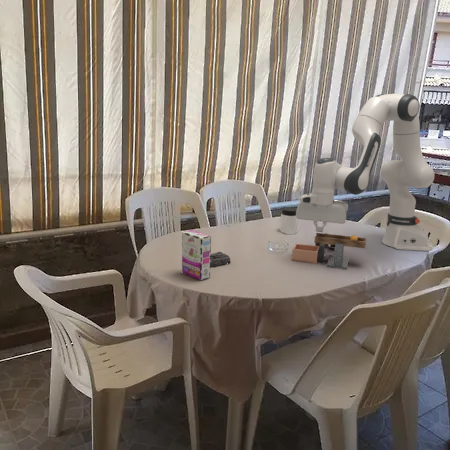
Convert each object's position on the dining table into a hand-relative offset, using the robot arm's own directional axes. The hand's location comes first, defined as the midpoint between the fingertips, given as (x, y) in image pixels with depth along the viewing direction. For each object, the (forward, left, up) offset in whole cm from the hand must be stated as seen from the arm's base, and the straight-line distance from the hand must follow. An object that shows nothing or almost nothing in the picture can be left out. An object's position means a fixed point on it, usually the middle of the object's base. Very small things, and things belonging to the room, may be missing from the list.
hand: (319, 231), depth 191 cm
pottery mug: (-2, -18, -13) cm, 22 cm away
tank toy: (+39, +18, -13) cm, 45 cm away
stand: (-7, 0, -13) cm, 14 cm away
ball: (-14, 0, -2) cm, 14 cm away
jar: (+18, -38, -13) cm, 44 cm away
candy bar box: (+41, +34, -13) cm, 55 cm away
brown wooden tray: (-9, 0, -4) cm, 9 cm away
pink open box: (+5, 0, -13) cm, 14 cm away
